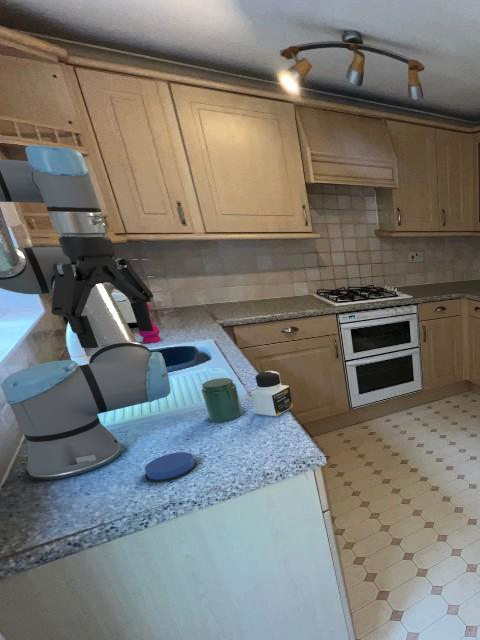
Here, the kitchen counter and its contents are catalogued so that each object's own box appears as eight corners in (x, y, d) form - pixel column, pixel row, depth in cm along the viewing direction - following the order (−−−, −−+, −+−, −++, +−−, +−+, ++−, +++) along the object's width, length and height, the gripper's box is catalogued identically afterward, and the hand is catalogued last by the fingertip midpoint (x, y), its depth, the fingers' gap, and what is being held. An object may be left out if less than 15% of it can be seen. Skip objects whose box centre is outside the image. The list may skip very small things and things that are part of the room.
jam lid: (159, 460, 94) (157, 454, 94) (201, 456, 96) (199, 449, 96) (138, 482, 87) (136, 475, 86) (184, 476, 89) (182, 469, 88)
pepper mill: (162, 338, 191) (148, 295, 183) (162, 341, 185) (148, 298, 178) (142, 340, 186) (127, 297, 179) (141, 344, 181) (126, 299, 174)
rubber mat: (134, 482, 87) (133, 480, 87) (167, 459, 96) (167, 457, 96) (176, 483, 88) (175, 481, 87) (205, 460, 96) (205, 458, 96)
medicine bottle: (276, 416, 117) (268, 378, 113) (255, 414, 119) (246, 376, 114) (293, 406, 124) (286, 370, 120) (273, 404, 125) (265, 368, 121)
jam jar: (204, 423, 113) (194, 388, 109) (216, 411, 120) (207, 378, 116) (237, 420, 115) (228, 386, 111) (246, 408, 122) (238, 376, 118)
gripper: (34, 238, 69) (81, 356, 77) (154, 234, 92) (181, 325, 100) (-11, 237, 69) (41, 355, 77) (121, 233, 92) (150, 324, 100)
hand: (120, 338), depth 88 cm, fingers open, 13 cm apart
